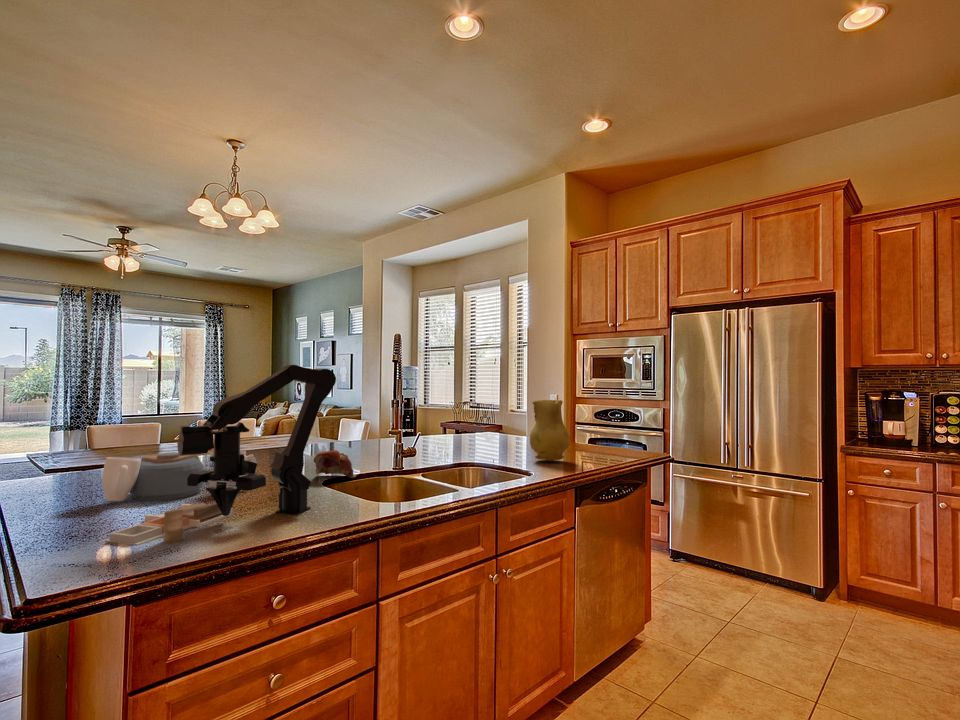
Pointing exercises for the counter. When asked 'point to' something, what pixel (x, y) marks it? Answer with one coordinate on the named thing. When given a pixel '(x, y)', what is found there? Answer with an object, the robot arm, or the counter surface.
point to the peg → (173, 526)
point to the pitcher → (549, 430)
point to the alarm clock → (166, 477)
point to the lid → (200, 511)
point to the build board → (143, 532)
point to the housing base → (192, 521)
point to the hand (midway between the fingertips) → (226, 515)
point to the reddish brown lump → (333, 463)
